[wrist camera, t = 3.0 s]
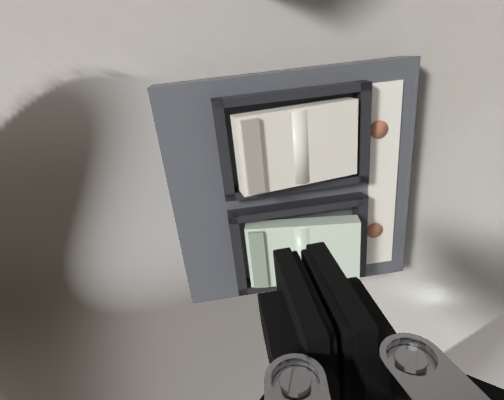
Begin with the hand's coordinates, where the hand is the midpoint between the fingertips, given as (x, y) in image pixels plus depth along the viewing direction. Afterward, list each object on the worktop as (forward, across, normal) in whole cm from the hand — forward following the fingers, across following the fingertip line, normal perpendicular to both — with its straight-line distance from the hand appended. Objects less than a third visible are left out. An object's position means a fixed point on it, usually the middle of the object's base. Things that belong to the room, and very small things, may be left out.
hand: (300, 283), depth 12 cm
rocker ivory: (+15, -4, 0) cm, 15 cm away
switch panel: (+20, -4, +4) cm, 20 cm away
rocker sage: (+15, -4, +8) cm, 18 cm away
